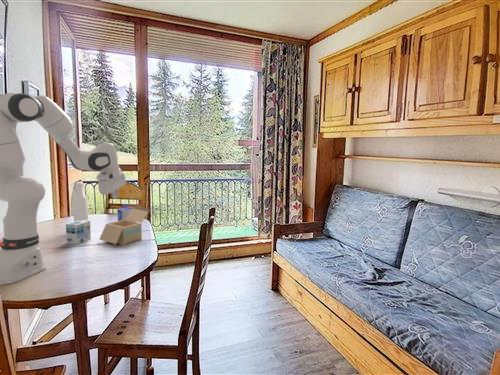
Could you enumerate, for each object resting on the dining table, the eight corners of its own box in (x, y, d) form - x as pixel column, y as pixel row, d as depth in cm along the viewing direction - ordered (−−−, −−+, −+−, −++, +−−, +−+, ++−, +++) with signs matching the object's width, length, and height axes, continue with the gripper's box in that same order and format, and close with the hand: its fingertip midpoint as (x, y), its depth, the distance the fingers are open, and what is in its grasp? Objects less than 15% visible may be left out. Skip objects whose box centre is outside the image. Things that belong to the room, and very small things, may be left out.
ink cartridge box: (130, 224, 205) (130, 203, 203) (136, 225, 202) (135, 204, 200) (117, 227, 196) (116, 205, 194) (122, 229, 193) (122, 206, 191)
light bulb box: (77, 245, 161) (76, 225, 160) (66, 243, 162) (65, 224, 161) (91, 239, 172) (90, 220, 170) (80, 238, 173) (80, 219, 171)
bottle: (72, 231, 185) (69, 181, 181) (86, 229, 191) (84, 181, 187) (76, 234, 180) (74, 183, 176) (91, 231, 186) (89, 182, 182)
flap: (149, 209, 178) (150, 209, 178) (134, 206, 184) (134, 206, 185) (141, 222, 173) (141, 222, 174) (125, 218, 180) (126, 219, 180)
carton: (116, 246, 160) (115, 229, 159) (99, 242, 167) (98, 225, 166) (141, 239, 174) (141, 222, 173) (125, 234, 181) (124, 219, 180)
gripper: (116, 168, 173) (120, 191, 177) (94, 177, 154) (99, 203, 157) (126, 168, 172) (130, 191, 176) (105, 177, 153) (110, 203, 157)
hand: (115, 197), depth 167 cm, fingers closed
